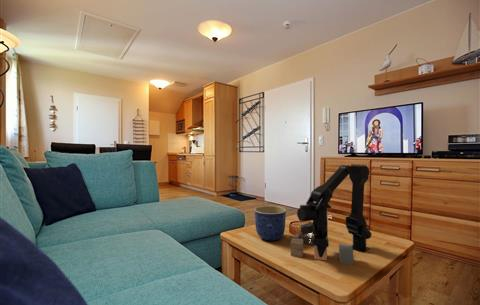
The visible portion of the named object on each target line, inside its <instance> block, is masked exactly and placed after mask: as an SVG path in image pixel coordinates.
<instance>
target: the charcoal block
mask: <svg viewBox="0 0 480 305" xmlns="http://www.w3.org/2000/svg"><path fill="white" fill-rule="evenodd" d="M352 245H353V244H351V245H350V244H342V243H339V244H338V260H339V263H340V264H346V265H354V249H353V248H352Z"/></svg>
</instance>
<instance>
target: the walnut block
mask: <svg viewBox="0 0 480 305" xmlns="http://www.w3.org/2000/svg"><path fill="white" fill-rule="evenodd" d="M290 256H291V257H298V258H303V257H304V242H303V240H302V239H294V237H293V238H291V240H290Z"/></svg>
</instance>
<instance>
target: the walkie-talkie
mask: <svg viewBox="0 0 480 305" xmlns="http://www.w3.org/2000/svg"><path fill="white" fill-rule="evenodd" d="M293 239H302V240H303V243H306V244H310V243H309V241H310V240H309V239H311V238H310V237H308V236H307V234H306V235H302V233H301V231H300V230H299V232H298V233H296V234H295V235H294V237H293Z"/></svg>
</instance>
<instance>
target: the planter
mask: <svg viewBox="0 0 480 305" xmlns="http://www.w3.org/2000/svg"><path fill="white" fill-rule="evenodd" d="M286 218H287V209H286V208H285V207H282V206H277V205H261V206H260V205H259V206H256V207H255V208H254V221H255V222H254V223H255V230H256V234H257V236H258V237H260V238H261V239H263V240H264V241H277V240H279V239H281V238H282V237H283V236H284V233H285V232H286V231H285V230H286Z"/></svg>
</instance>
